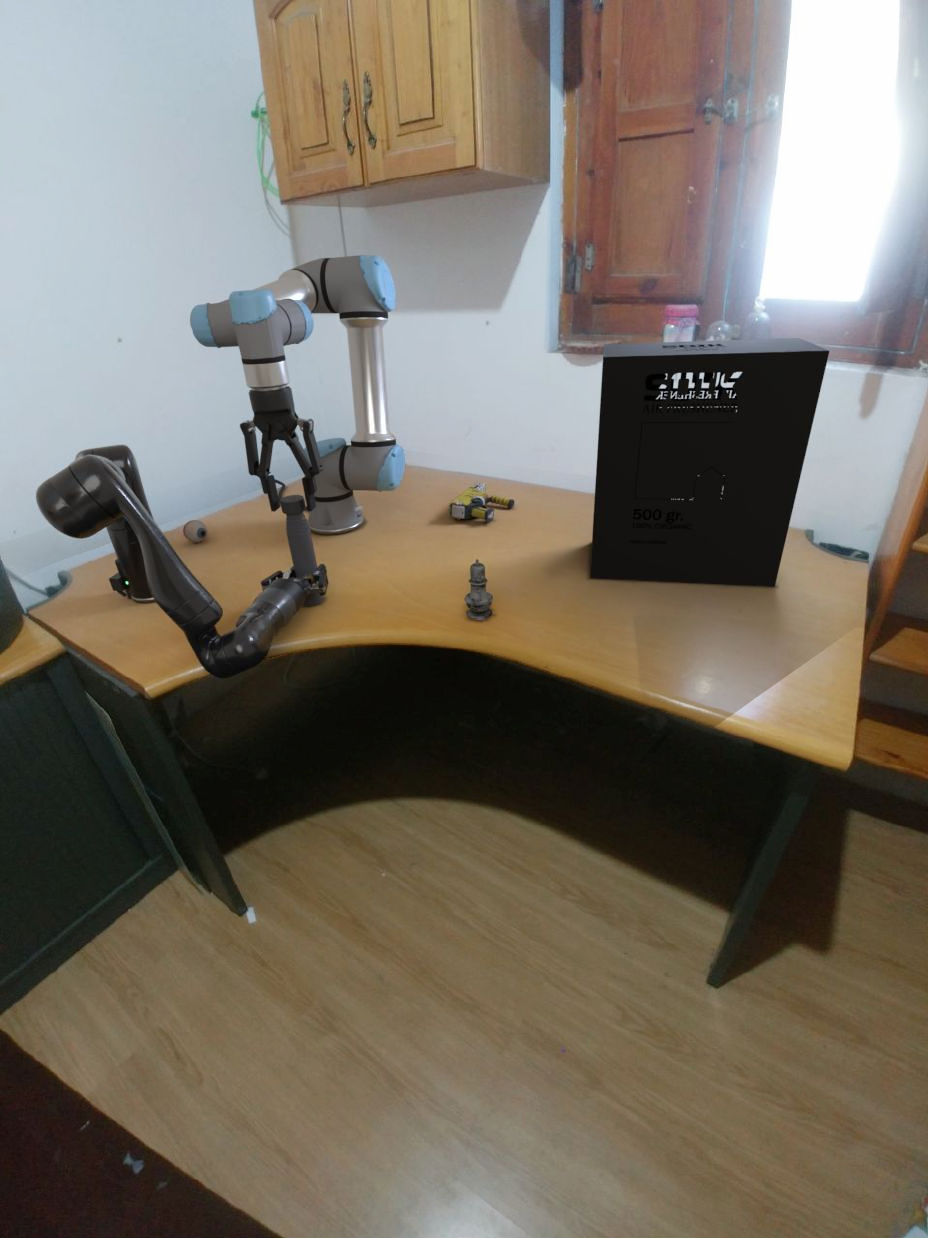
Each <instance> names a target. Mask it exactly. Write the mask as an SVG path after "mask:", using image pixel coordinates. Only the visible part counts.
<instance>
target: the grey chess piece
mask: <svg viewBox="0 0 928 1238" xmlns="http://www.w3.org/2000/svg"><path fill="white" fill-rule="evenodd" d="M469 573H470V578H469V580H468V583H469V584H470V592H469V593H467V594H466V595H464V597H463V600H464V602H465V605H466V607H467V608H468V609H467V611H466V613H465V614H466V617H467V618H468V619H470V620H473V621H484V620H487V619H489V618H491V617H492V616H493V613H494V612H493V610H492V609H491V607H492V604H493V601H494V594H493V593H490V592H488V591H487V583H488V579H487V578H486V566H485V565H484V563H481V562H480V561H479V559H475V562H474V563H472V564H471V565H470V567H469Z"/></svg>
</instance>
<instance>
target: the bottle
mask: <svg viewBox="0 0 928 1238" xmlns="http://www.w3.org/2000/svg"><path fill="white" fill-rule="evenodd" d="M285 516H286V517H285V524H286V525H285V531H286V532H285V533H286V537H287V541H288V547H289V551H290V557H291V561H292V567H293V566H294V571H295V575H296V578H300V577H301V576H303V575H305V574H307V573H309V574H311V573H312V572H314V571H315V570H316V569H317V567H318V563H317V557H316V553H315V552H316V551H315V547H314V541H313V536H312V533H311V532H312V531H311V530H310V527H309V522H308V519H307V518H306V515H305V512H304V511H303V512H301V513H298V514H285ZM314 581H315V577H314ZM323 601H324V596H320V594H319V593H318V592H317V593H312V594H311V595H310V596H308V597H307V598H306V599H305V602H304V604H303V606H304V607H314V606H317V605H320V604H322V603H323Z"/></svg>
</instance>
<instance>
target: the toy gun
mask: <svg viewBox="0 0 928 1238" xmlns="http://www.w3.org/2000/svg"><path fill="white" fill-rule="evenodd" d="M486 491H487V484H486V483H485V482H480V481H477V482H475V483H474V484H473V485H472V486H469V487H468V488H467V489H466V490H465V491H463V492H462V493H461V494H459V496H457V497H456V498H455V499H453V500H452V501H451V502H450V503H449V505H448V506H449V507H448V516H450V518H453V519H454V520H456V519H457V520H459V521H460V520H461V519H462V520H469V519H473V518H478V519H482V520H484V523H489V522H490V521H492V520H494V516H495V515H494V514H495V507H492V506H491V507H489V508H488V506H487V505H488V504H490V503H491V504H495V505H498V506H503V507H506V508H509V509H512V508H514V506H515V500H514V499H513V498H507V497H503V496H499V495H495V494H492V495H491V496H490V497H489V495H488V493H487V492H486Z"/></svg>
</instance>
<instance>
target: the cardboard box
mask: <svg viewBox="0 0 928 1238" xmlns="http://www.w3.org/2000/svg"><path fill="white" fill-rule="evenodd" d="M829 356H830V350H829V349H827V348H824V347H822V346H819V345H817V344H815V343H813V342H809V341H808V340H804V339H802V338H799V337H787V338H786V337H785V338H756V339H755V338H753V339H751V338H750V339H724V340H691V341H689V340H688V341H661V342H631V343H604V344H603V353H602V368H601V385H600V386H601V387H600V399H599V400H600V402H599V416H598V417H599V419H598V434H597V436H598V437H597V452H596V467H595V468H596V470H595V487H594V502H593V503H594V504H593V521H592V535H591V536H592V538H591V554H590V569H589V571H590V572H589V578H590V579H600V580H625V581H647V582H665V583H666V582H667V583H668V582H669V583H688V584H689V583H691V584H692V583H693V584H714V585H735V586H755V587H756V586H757V587H759V586H760V587H776V583H777V579H778V575H779V572H780V571H779V570H780V566H781V562H782V557H783V553H784V549H785V545H786V541H787V536H788V532H789V528H790V523H791V519H792V514H793V510H794V506H795V502H796V497H797V493H798V489H799V485H800V480H801V475H802V473H803V472H802V471H803V467H804V464H805V457H806V454H807V449H808V446H809V441H810V437H811V433H812V428H813V425H814V419H815V415H816V411H817V407H818V403H819V398H820V395H821V390H822V385H823V381H824V376H825V373H826V368H827V363H828V360H829ZM735 373H740V374H739V376H738V377H733V375H734V374H735ZM676 374H680V378H678V381H677V387H674V386H675V385H674V384H675V378H673V377H674V375H676ZM687 374H692V378H691V384H694V385H693V387H689V385H690V378H687ZM701 374H703V378H700V376H701ZM718 374H719V378H718ZM722 377H723V382H722ZM717 379H718V383H717ZM722 383H723V384H727V383H729V384H731V383H733V384H732V387H731V386H730V387H726V386H725V387H724V386H723V385H722ZM703 384H708V387H702V385H703ZM662 386H665V387H664V388H663V387H662ZM661 387H662V388H661Z"/></svg>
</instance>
